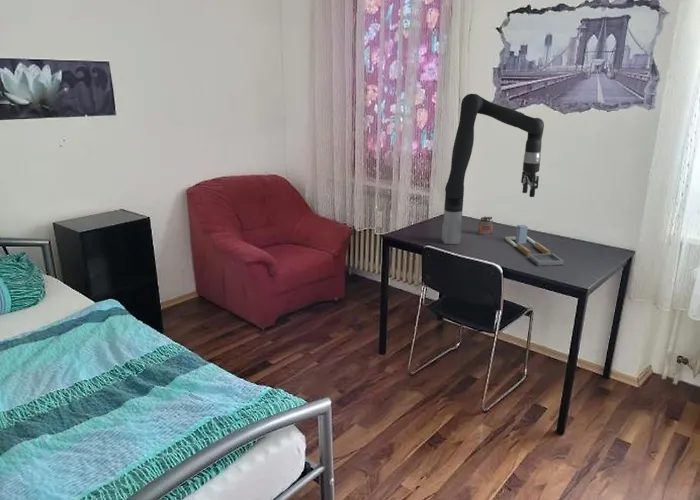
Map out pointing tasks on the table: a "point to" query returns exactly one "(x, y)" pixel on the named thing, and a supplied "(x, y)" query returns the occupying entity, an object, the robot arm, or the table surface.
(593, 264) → the table surface
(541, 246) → the rail channel
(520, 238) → the block
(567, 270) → the table surface
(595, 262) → the table surface
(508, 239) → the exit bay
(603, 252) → the table surface
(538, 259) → the tray
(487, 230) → the lighter
